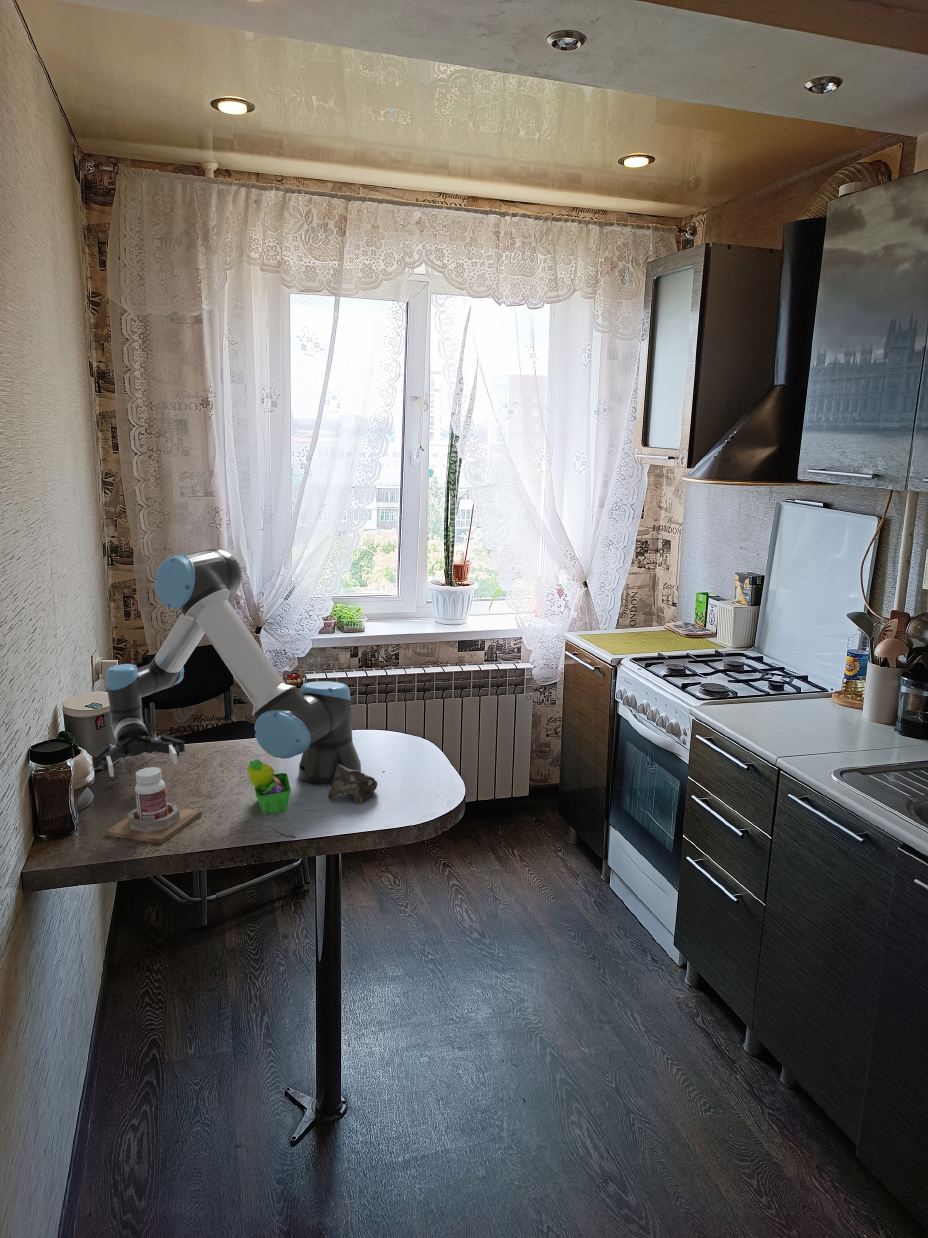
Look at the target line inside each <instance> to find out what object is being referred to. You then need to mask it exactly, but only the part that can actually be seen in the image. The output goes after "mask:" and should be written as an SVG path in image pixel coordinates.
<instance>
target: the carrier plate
mask: <svg viewBox="0 0 928 1238" xmlns="http://www.w3.org/2000/svg"><path fill="white" fill-rule="evenodd" d="M167 805H168V816H166V817H165V818H160V819H155V820H151V821H144V820H138V813H137V807H136V808H134V809H132V810H131V811H129V812H127V816H125V818H123V819H122V820H120V821H119V822H117V823H115V824H114V825H112V826H111V827H109V828H108V829H106V830H105V831H104V833H105V834H104V835H105V836H107V837H114V838H120V839H121V838H122V839H128V840H132V841H133V840H134V841H140V842H148V843H153V844H160V845H162V844H163V843H165V842H166V841H168V840H169V839H171V838H172V837H174V836H175V835H176V834H178V833H179V832H181V831H182V830H183V829H185V827H188V826H189V825H191V824H192V823H193V822H194V821H196V820H197V819H198V818H200V817H201V816H202V815H203V814H202V811H201V810H195V809H189V808H182V807H178V806H177V805H178V804H177V803H173V802H167Z"/></svg>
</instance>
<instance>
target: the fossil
mask: <svg viewBox="0 0 928 1238" xmlns="http://www.w3.org/2000/svg"><path fill="white" fill-rule="evenodd" d="M377 788H378V781H376V780H375V778H374V777H373V776H371V775H367V774H365V773H364V772H362V771H361V772H360V771H358V770H352V769H348V768H345V767H344V766H342V765H341V764H338V765H337V767H336V770H335V774H334V778H333V782H332V785H330V788H329V791H328V793H327V798H328V800H329V801H333V800H334V799H335V797H338V796H343V795H345V794H349V795H352V796H353V800H354V801H355V802H356V804H358V805H363V804H364V802H365V801H366V799H367V798H368V797H369V796H372V794H373V793H374V791H376V789H377Z"/></svg>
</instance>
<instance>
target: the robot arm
mask: <svg viewBox="0 0 928 1238" xmlns="http://www.w3.org/2000/svg"><path fill="white" fill-rule="evenodd" d="M241 582H242V568H241V566H240V564H239V562H238V560H237V559H236V558H235V556H234V555H232V554H231V553H230V552H228V551H226V550H224V549H221V548H208V549H205V550H201V551H194V552H189V553H185V554H184V553H180V554H176V555H175V556H171V557H168V558H166V559H164V560H163V561H162V562H161V563H160V564H159V566H158V568H157V570H156V573H155V581H154V586H155V592H156V594H157V597H158V598H159V600H160V602H161V603H162V604H163V605H164V606H165V607H167V608H170V609H174V610H176V609H177V610H178V609H179V610H180V612H181V613H180V615H179V617H178V618H177V621H175V623H174V625H173V627H172V628H171V630H170V632H169V633H168V635H167V637H166V638H165V640H164V642H163V643H162V645H161V646H160V648H159V649H158V651H157V652H156V654H155V655H154V657H153V659H152V660H151V662H150V663H148V664H146V665H143V666H140V667H138V666H137V665H136V664H132V663H122V664H117V665H116V664H115V665H112V666H109V668H107V670H106V671H105V682H106V684H105V686H106V691H107V698H108V705H109V716H110V719H111V725H110V726H111V727H112V731H113V732H112V731H111V732H112V734H113V736H114V739H115V742H116V744H111V743H109V742H105V743H103V746H102V748H100V749H99V750H98V751H97V752H96V753H94V754H93V756H91V762H92V768H93V769H98V768H99V767H101V771H107V770H108V773H109V776H110V778H114V777H115V772H114V764H115V762H116V761H119V760H120V759H125V758H127V757H137V756H140V755H142V754H144V753H148V754H153V753H154V752H155V753H162V754H169V758H170V760H171V761H172V763H173V765H174V766H175V765H178V764H179V763H178V762H179V761H178V757H180V756H181V754H180V753H184V752H186V748H185V747H186V746H185V740H182V739H179V738H175V737H171V736H168V735H166V734H165V733H159V734H158V736H157V737H155V738H154V737H152V736H151V735H150V733H149V731H148V728H146V727H147V726H146V725H145V723H144V719H143V711H142V699H141V698H143V697H146V696H149V695H152V694H154V693H157V692H160V691H162V690H166V689H169V688H170V689H171V688H172V687H174V686H175V685H177V684H180V683H182V680H183V679H184V676H185V675H184V673H185V670H184V669H185V667H184V665H185V664H186V663H187V661H188V659H189V658H190V656H191V655H192V654H193V652H194V650H195V649H196V647H197V646H198V645H199V643H200V641H201V639H202V638H203V637H204V635H205V636H206V638H207V639H208V641H209V642H210V644H211V645H212V646H213V648H214V649H215V651H216V652H217V654H218V655H219V657H220V658H221V660H222V661H223V662H224V664H225V666H226V667H227V669H228V670H229V672H230V673H231V675H232V676H233V677H234V678H235V680H236V681H237V683H238V684H239V686H240V687H241V689H242V690H243V691H244V694H246V696H247V697H248V699H249V700H250V702H251V704H252V705H253V708H252V709H253V710H252V717H253V719H254V720H255V724H254V731H255V733H254V736H255V740H256V741H257V743H258V745H259V747H260V748H261V749H262V750H263V751H264V752H265V753H267V754H268V755H270V756H271V757H274V758H279V759H281V760H284V759H290V758H293V757H295V756H298V755H301V758H300V762H299V764H298V765H299V766H298V777H299V779H300V780H301V781H302V782H305V783H307V784H310V785H315V786H331V785H332V782H333V778H334V774H335V770H336V767H337V765H338V764H341V765H342V766H344V767H345V768H348V769H352V770H358V771H360V772H361V773H362V765H361V760H360V757H359V754H358V753H357V750H356V747H355V745H354V741H353V725H352V724H353V723H352V702H351V701H352V697H351V690H350V688H349V686H348V685H347V684H345V683H342V682H337V681H328V680H327V681H324V680H323V681H322V680H321V681H311V682H310V681H309V682H306V683H303V684H302V685H301V687H300V691H299V689H298V688H297V686H296V685H292V684H287V683H286V682H285V681H284V680H283V678H282V676H281V675H280V674H279V672H278V670H277V669H276V667H275V666H274V665H273V664H272V662H271V660H270V659H269V658H268V656H267V655H266V654H265V652H264V650H263V649H262V648H261V646H260V645H259V643H258V642H257V640H256V639H255V638H254V636H253V634H252V633H251V632H250V630H249V629H248V628H247V626H246V624H245V622H243V620H242V619H241V617H240V616H239V614H238V613H237V611H236V610H235V609H234V607H233V606H232V605H231V602H232V600H233V598H234V597H235V596H236V594H237V592H238V590H239V588H240V586H241Z"/></svg>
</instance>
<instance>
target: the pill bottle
mask: <svg viewBox="0 0 928 1238" xmlns="http://www.w3.org/2000/svg"><path fill="white" fill-rule="evenodd" d="M162 774H163V773H162V770H161V768H160V767H154V766H151V767H145V768H141V769H138V770H137V771H136V772H135V782H136V785H135V787H134V794H135V803H136V808H137V813H138V820H144V821H151V820H155V819H160V818H165V817H166V816H168V805H167V803H168V797H167V796H168V795H167V789H166V788H167V787H166V783H165V781H164V780H163V779H162V778H163V776H162Z"/></svg>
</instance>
